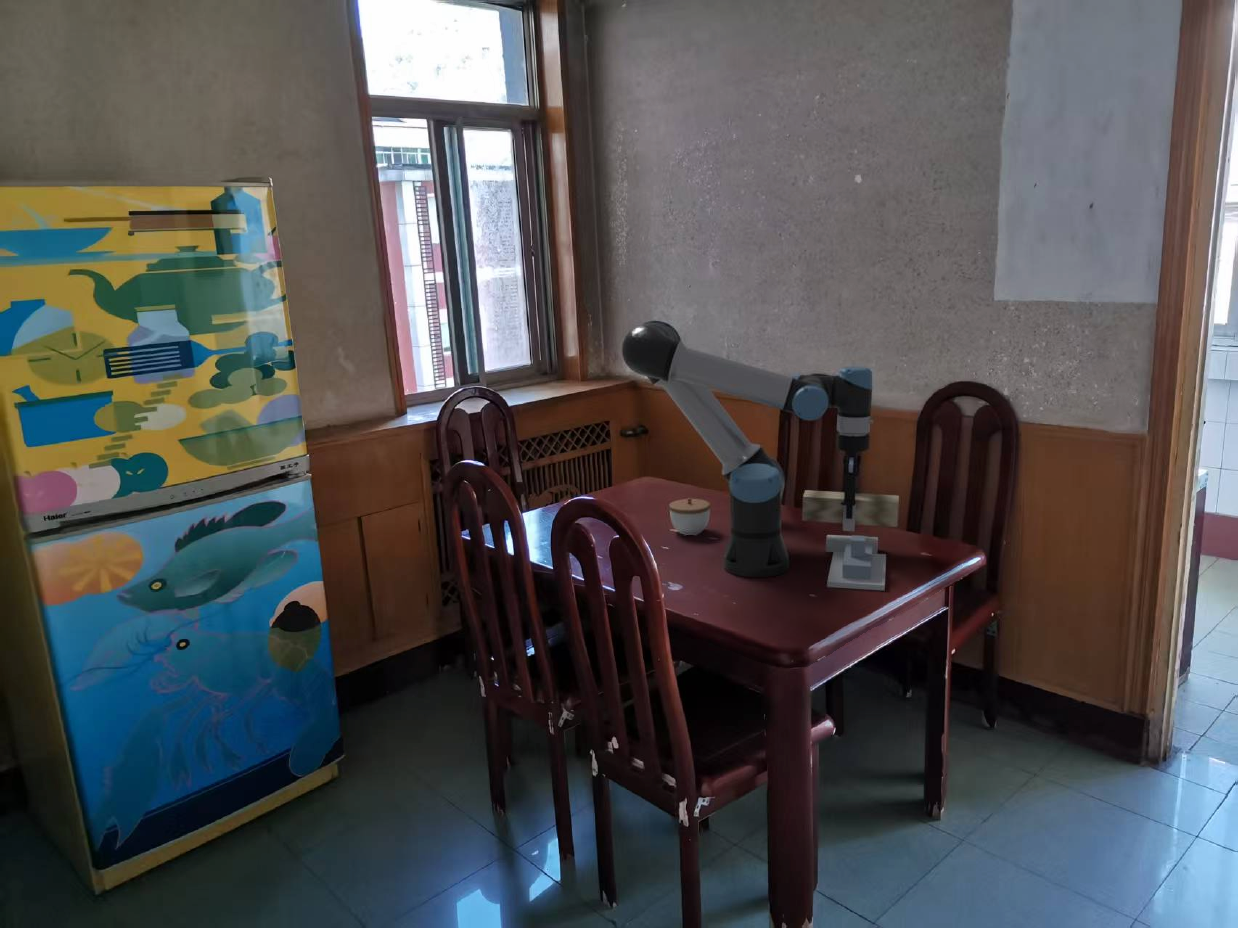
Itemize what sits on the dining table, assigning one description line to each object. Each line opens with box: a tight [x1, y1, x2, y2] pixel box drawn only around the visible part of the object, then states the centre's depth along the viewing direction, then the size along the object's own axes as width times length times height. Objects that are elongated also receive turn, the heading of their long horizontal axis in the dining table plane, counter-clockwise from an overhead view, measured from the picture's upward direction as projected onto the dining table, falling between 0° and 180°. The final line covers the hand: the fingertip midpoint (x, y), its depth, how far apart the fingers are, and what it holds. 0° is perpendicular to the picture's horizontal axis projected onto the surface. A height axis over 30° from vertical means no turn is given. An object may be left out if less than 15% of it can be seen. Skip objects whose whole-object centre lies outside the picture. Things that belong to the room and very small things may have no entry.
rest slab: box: [825, 534, 879, 554], centre depth 213 cm, size 12×4×3 cm, turn 73°
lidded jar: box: [668, 497, 711, 536], centre depth 233 cm, size 11×11×9 cm
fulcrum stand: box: [826, 534, 887, 592], centre depth 198 cm, size 12×20×8 cm, turn 163°
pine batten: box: [801, 489, 900, 528], centre depth 211 cm, size 22×6×6 cm, turn 73°
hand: (849, 526), depth 212 cm, fingers closed on pine batten, 6 cm apart
